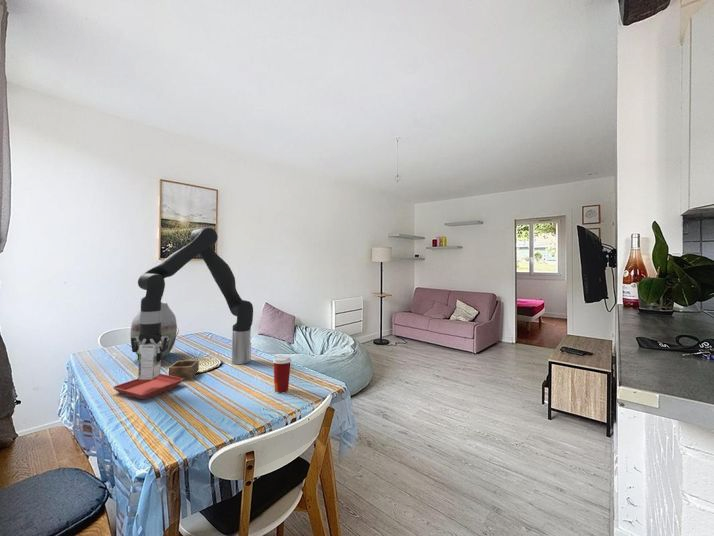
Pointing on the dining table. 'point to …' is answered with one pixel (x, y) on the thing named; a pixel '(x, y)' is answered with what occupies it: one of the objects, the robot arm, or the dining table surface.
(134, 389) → the plant saucer
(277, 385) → the paper cup
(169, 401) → the dining table surface
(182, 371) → the holder
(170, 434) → the dining table surface
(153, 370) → the syrup box
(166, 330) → the vase
